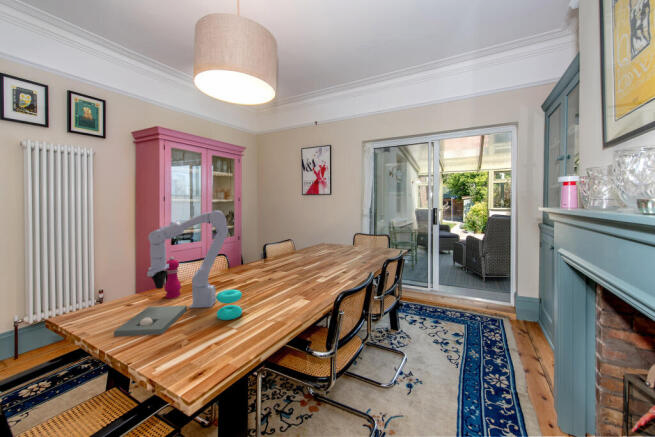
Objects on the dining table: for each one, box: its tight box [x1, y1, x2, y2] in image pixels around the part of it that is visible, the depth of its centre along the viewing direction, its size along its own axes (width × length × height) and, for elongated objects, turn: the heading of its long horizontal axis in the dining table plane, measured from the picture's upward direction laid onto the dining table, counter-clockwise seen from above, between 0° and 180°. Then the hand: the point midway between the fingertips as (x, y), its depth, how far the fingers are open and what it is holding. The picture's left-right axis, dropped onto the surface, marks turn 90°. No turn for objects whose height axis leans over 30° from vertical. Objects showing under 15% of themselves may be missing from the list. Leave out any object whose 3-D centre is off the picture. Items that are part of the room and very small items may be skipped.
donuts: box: [216, 288, 243, 321], centre depth 114 cm, size 10×10×10 cm
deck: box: [113, 305, 188, 337], centre depth 108 cm, size 16×22×2 cm
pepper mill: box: [164, 256, 182, 299], centre depth 137 cm, size 7×7×20 cm
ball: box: [140, 318, 153, 326], centre depth 103 cm, size 4×4×4 cm
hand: (159, 288), depth 120 cm, fingers closed
